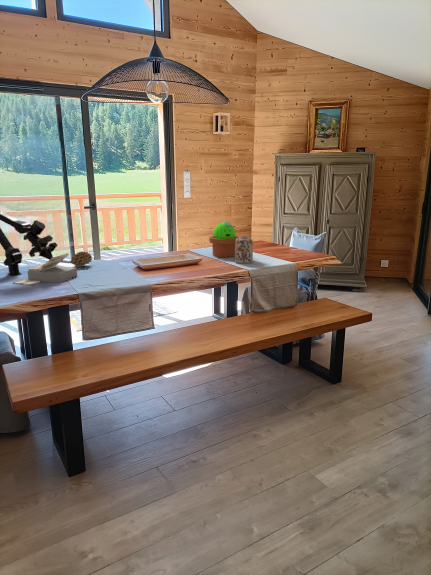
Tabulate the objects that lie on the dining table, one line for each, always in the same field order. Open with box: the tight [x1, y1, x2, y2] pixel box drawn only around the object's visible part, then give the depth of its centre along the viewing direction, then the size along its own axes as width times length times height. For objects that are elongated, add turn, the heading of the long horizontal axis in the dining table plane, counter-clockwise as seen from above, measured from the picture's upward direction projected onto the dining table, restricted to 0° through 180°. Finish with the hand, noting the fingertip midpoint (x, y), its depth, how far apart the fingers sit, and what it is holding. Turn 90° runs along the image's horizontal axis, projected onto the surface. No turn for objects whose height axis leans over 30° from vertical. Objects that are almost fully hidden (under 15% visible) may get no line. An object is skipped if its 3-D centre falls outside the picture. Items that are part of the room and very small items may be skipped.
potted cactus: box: [208, 221, 241, 258], centre depth 303 cm, size 22×22×25 cm
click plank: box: [38, 252, 70, 271], centre depth 241 cm, size 13×14×1 cm
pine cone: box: [60, 251, 93, 268], centre depth 270 cm, size 22×10×10 cm, turn 111°
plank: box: [12, 278, 42, 286], centre depth 233 cm, size 13×7×1 cm, turn 71°
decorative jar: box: [234, 234, 254, 264], centre depth 283 cm, size 12×12×18 cm
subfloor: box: [27, 263, 78, 283], centre depth 243 cm, size 22×16×6 cm
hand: (53, 260), depth 241 cm, fingers closed
